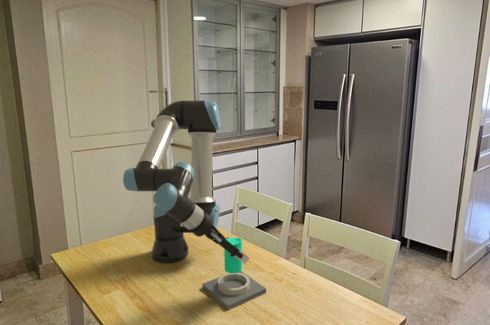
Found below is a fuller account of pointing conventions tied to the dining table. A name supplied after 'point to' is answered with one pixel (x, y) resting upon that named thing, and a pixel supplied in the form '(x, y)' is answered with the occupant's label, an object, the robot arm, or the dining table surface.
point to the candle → (233, 257)
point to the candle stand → (233, 289)
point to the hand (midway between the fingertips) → (242, 257)
